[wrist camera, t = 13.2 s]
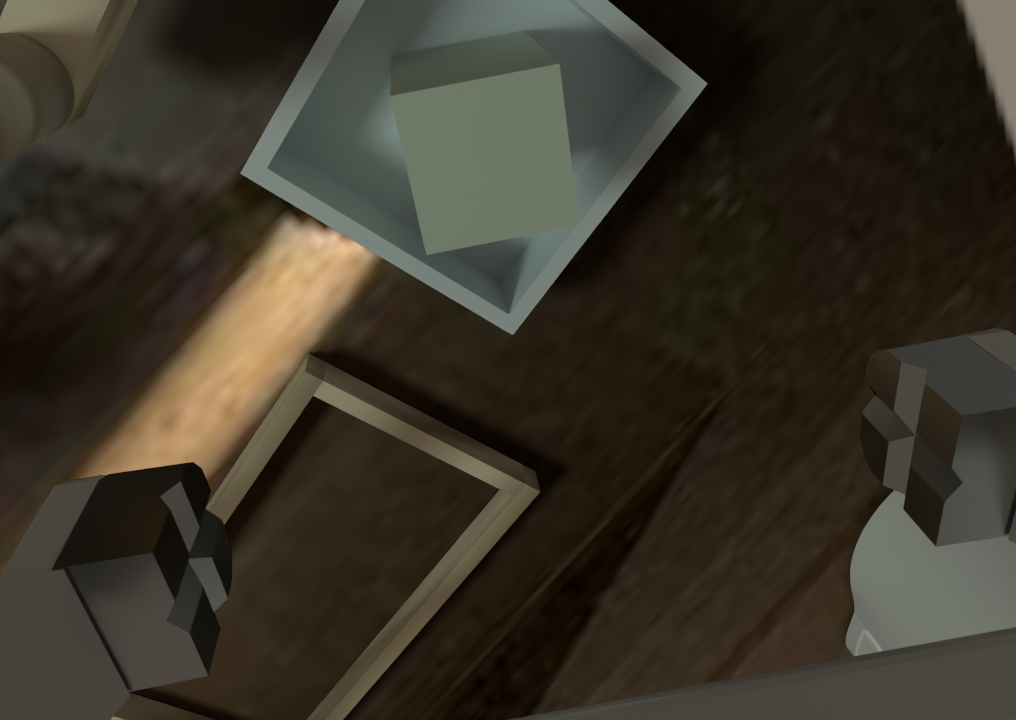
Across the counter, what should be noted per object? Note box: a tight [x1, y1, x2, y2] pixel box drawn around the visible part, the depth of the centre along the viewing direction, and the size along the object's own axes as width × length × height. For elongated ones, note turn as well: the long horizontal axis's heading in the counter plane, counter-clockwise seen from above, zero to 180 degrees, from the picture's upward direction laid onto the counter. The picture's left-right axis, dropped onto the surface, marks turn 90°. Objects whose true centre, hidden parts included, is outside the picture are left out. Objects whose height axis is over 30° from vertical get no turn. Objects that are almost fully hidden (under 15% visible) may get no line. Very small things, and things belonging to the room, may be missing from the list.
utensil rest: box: [111, 354, 540, 720], centre depth 38 cm, size 12×23×2 cm, turn 144°
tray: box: [240, 0, 708, 335], centre depth 27 cm, size 11×11×4 cm
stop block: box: [390, 31, 579, 255], centre depth 25 cm, size 4×4×7 cm
